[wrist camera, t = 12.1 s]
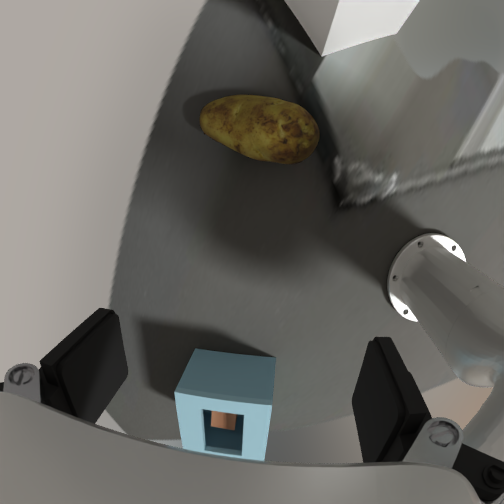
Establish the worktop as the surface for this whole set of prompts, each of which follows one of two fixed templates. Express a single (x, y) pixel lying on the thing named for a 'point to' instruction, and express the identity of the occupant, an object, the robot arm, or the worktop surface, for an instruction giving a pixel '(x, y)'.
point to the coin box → (226, 403)
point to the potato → (261, 127)
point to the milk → (349, 20)
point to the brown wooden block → (223, 420)
